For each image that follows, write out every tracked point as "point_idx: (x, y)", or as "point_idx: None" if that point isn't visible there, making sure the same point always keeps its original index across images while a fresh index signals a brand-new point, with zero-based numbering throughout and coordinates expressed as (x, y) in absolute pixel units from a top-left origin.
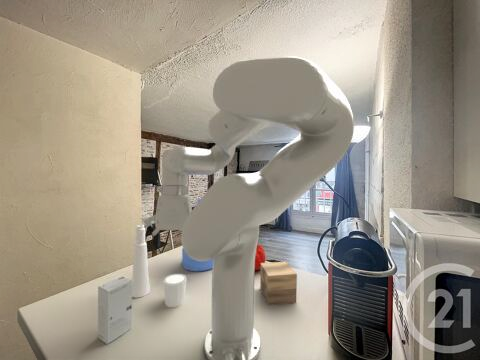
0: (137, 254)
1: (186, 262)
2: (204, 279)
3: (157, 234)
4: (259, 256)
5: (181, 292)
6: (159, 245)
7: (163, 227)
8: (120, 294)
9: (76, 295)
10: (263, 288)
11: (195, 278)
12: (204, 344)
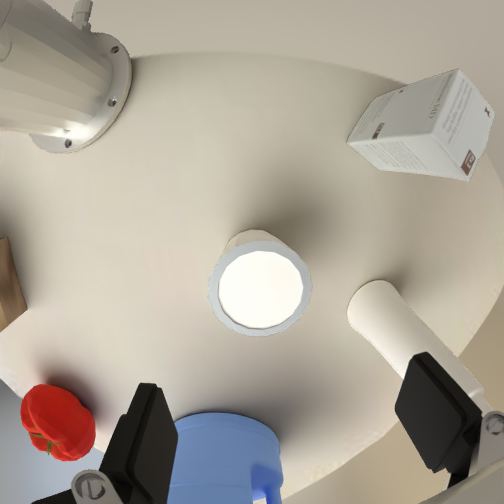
0: (456, 363)
1: (259, 436)
2: (183, 374)
3: (465, 438)
4: (27, 407)
5: (224, 250)
6: (401, 397)
7: (486, 500)
8: (425, 102)
9: (485, 286)
10: (7, 285)
11: (215, 380)
12: (128, 66)
